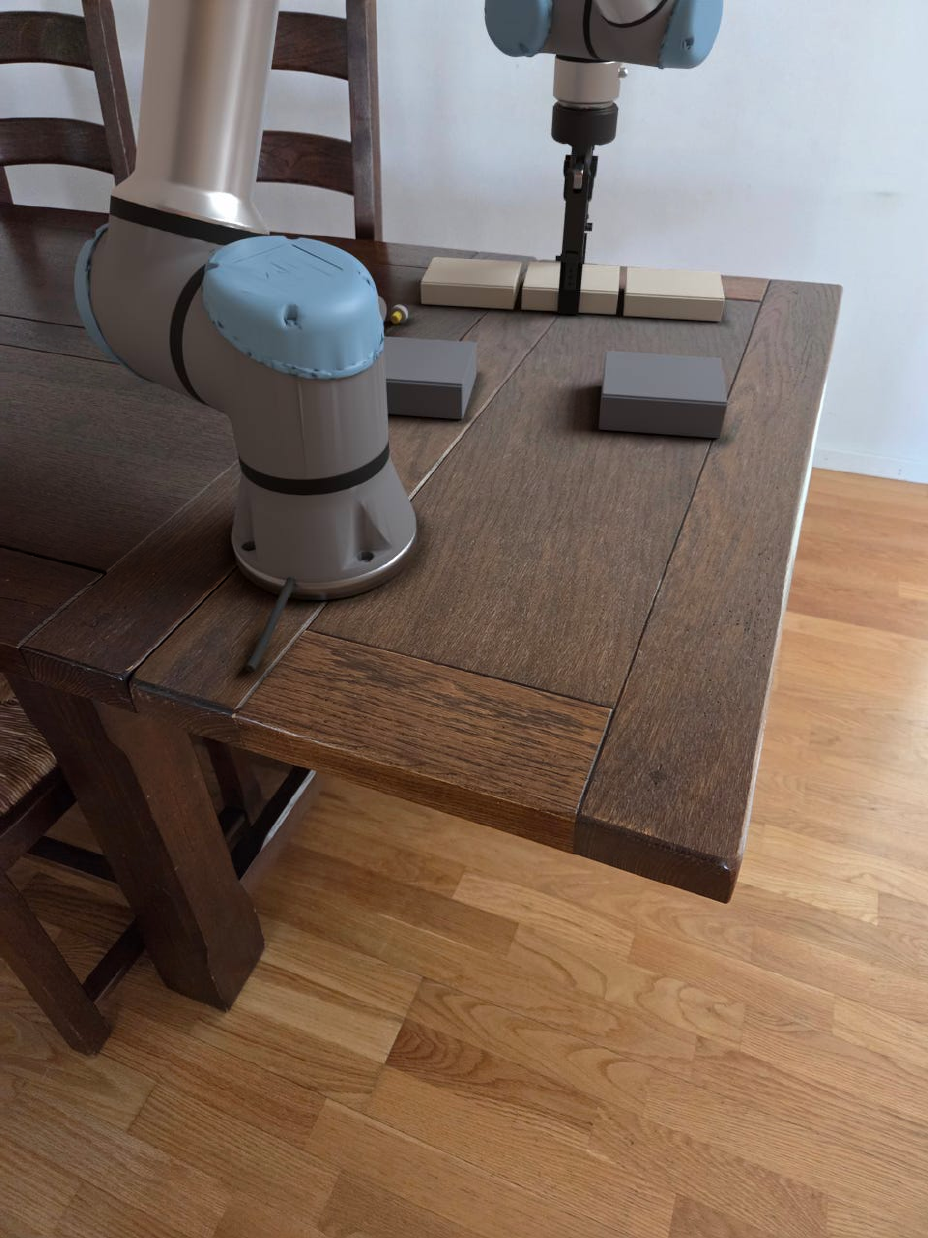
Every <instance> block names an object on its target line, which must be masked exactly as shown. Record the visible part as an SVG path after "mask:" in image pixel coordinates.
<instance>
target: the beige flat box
mask: <svg viewBox="0 0 928 1238" xmlns="http://www.w3.org/2000/svg"><path fill="white" fill-rule="evenodd" d="M560 263H561V262H550V261H549V262H548V261H547V262H545V261H529V262H528V265H527V268H526V272H525V275H524V280H523V283H522V288H521V310H523V311H524V310H525V311H544V312H557V306H558V292H559V277H560ZM620 269H621V267H620V265H612V264H611V265H609V264H588V263H584V264H583V268H582V279H581V291H580V302H579V313H580V314H599V315H614V316H615V315H616V314H617V308H618V300H619V299H618V298H619V297H618V296H619V284H620ZM579 313H578V314H579Z"/></svg>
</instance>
